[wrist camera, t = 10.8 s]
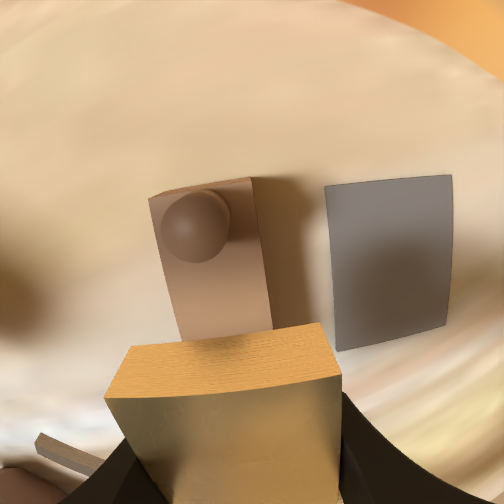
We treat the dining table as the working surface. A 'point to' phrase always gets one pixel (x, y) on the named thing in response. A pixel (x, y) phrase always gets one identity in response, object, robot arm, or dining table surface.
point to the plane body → (212, 259)
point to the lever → (67, 455)
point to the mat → (390, 257)
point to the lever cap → (235, 417)
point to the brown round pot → (27, 488)
